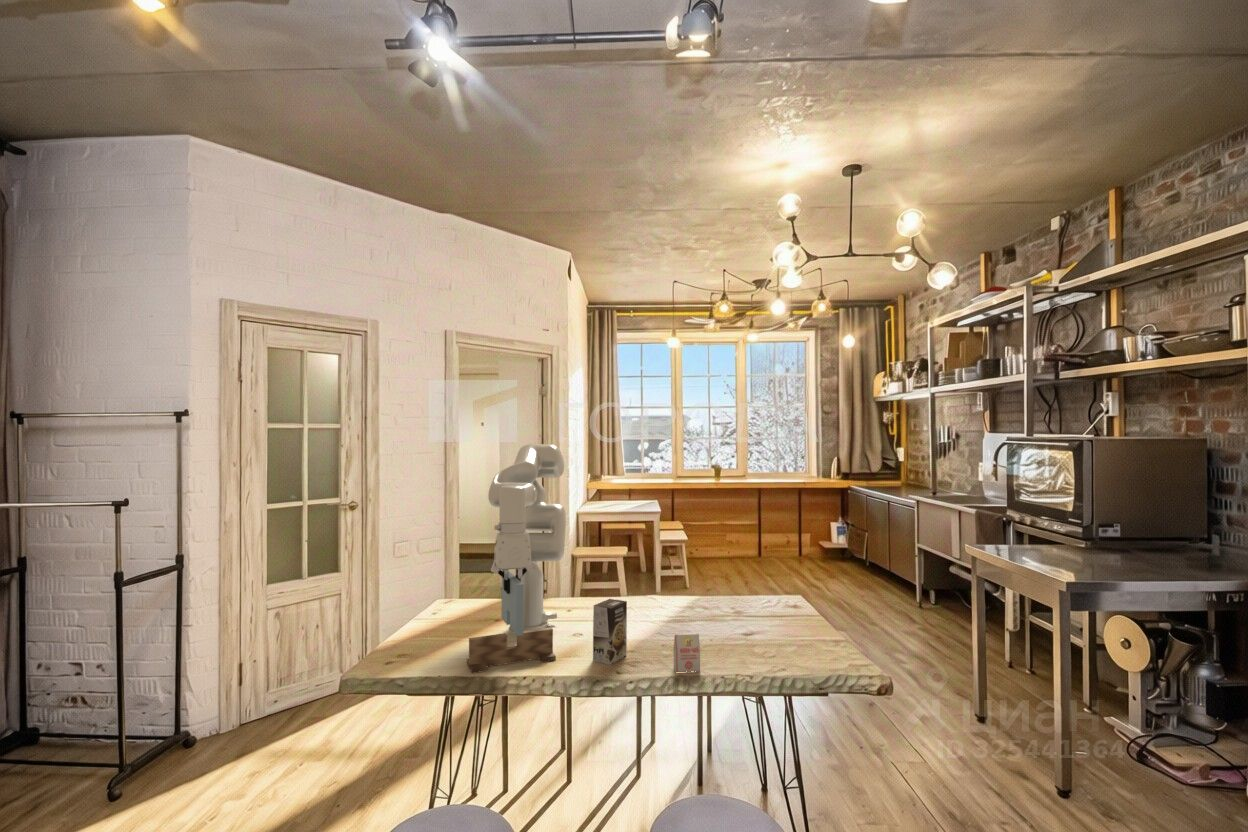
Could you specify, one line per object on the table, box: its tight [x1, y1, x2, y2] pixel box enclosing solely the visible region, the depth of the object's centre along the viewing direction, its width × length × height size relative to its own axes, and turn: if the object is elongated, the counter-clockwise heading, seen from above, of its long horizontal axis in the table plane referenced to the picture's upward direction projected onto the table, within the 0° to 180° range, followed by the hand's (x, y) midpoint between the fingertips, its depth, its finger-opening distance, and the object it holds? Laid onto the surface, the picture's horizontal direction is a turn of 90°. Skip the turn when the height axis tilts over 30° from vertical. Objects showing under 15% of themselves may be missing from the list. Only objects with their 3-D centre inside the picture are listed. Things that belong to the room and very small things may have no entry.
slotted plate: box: [501, 570, 524, 637], centre depth 177 cm, size 18×2×14 cm, turn 24°
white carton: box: [673, 633, 701, 673], centre depth 170 cm, size 4×7×10 cm, turn 95°
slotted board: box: [466, 626, 557, 674], centre depth 176 cm, size 24×8×8 cm, turn 114°
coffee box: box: [592, 598, 628, 666], centre depth 179 cm, size 9×6×16 cm
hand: (512, 591), depth 177 cm, fingers closed on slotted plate, 2 cm apart
